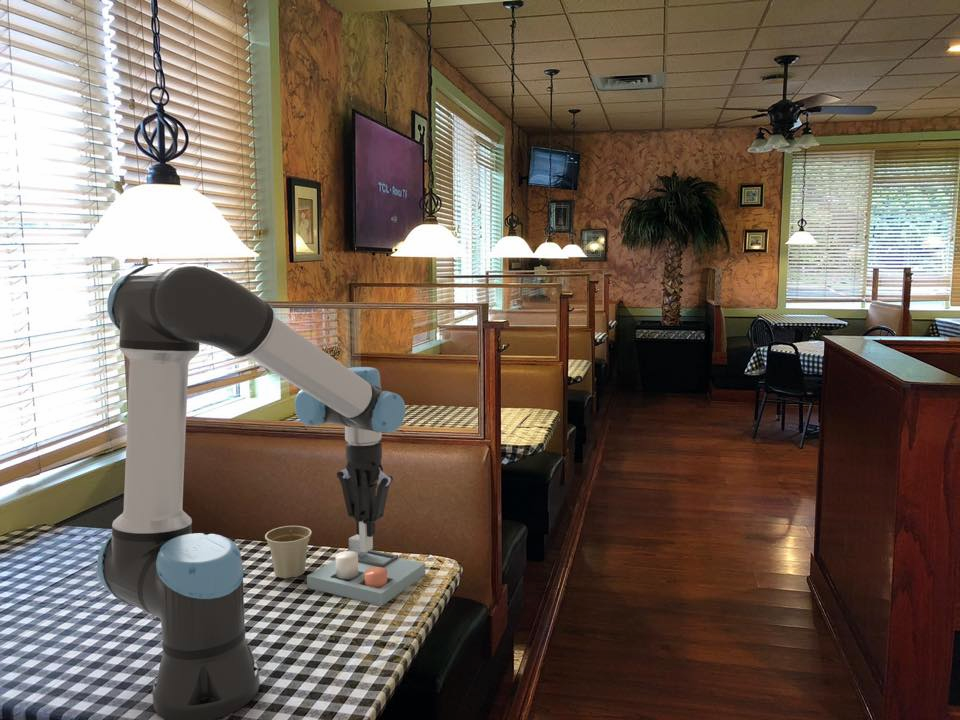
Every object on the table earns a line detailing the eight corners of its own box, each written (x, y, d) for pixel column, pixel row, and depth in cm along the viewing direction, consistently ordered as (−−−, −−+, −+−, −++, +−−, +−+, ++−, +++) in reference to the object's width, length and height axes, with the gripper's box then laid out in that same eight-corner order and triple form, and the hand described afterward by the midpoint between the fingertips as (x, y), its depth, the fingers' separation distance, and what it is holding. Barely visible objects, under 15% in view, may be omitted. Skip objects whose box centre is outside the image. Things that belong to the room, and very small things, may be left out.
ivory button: (349, 580, 147) (348, 561, 146) (331, 576, 149) (331, 557, 148) (362, 572, 150) (362, 553, 150) (345, 568, 152) (344, 549, 152)
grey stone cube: (359, 558, 157) (359, 540, 157) (349, 556, 159) (348, 538, 158) (367, 554, 160) (367, 536, 159) (356, 552, 161) (356, 534, 161)
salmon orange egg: (379, 597, 144) (378, 577, 143) (360, 593, 146) (360, 573, 145) (391, 588, 148) (391, 569, 147) (373, 584, 150) (373, 565, 149)
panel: (381, 605, 141) (381, 590, 141) (307, 587, 149) (306, 573, 149) (425, 574, 155) (425, 560, 155) (355, 559, 164) (354, 546, 163)
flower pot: (306, 582, 152) (305, 542, 151) (260, 582, 152) (259, 541, 151) (317, 564, 161) (316, 525, 160) (274, 563, 161) (272, 525, 160)
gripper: (399, 440, 155) (401, 549, 158) (349, 434, 161) (352, 539, 164) (379, 448, 149) (381, 561, 152) (327, 442, 155) (330, 550, 158)
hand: (366, 549), depth 158 cm, fingers closed
